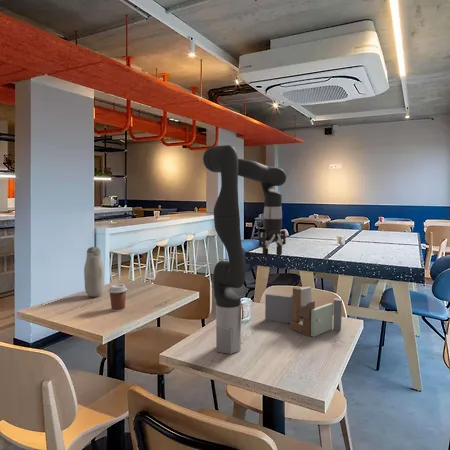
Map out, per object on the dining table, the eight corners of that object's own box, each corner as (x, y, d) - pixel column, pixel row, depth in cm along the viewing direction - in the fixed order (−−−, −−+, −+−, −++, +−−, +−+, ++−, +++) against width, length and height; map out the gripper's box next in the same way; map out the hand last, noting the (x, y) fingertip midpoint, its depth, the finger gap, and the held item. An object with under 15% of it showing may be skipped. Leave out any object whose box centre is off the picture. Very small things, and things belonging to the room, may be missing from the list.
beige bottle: (81, 298, 213) (79, 247, 210) (93, 293, 223) (91, 245, 220) (97, 299, 210) (95, 248, 208) (107, 294, 220) (106, 246, 217)
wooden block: (308, 336, 158) (309, 293, 156) (289, 328, 166) (290, 287, 165) (314, 334, 160) (315, 292, 158) (295, 326, 169) (296, 286, 167)
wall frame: (340, 330, 164) (341, 300, 163) (264, 320, 177) (265, 292, 176) (341, 328, 167) (342, 298, 166) (266, 318, 180) (267, 291, 178)
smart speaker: (298, 310, 191) (299, 282, 190) (316, 314, 185) (316, 285, 184) (289, 315, 184) (289, 286, 183) (306, 319, 178) (307, 289, 177)
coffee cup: (130, 306, 197) (129, 283, 196) (123, 312, 188) (123, 288, 187) (113, 306, 198) (112, 283, 197) (105, 311, 189) (105, 287, 188)
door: (335, 329, 165) (336, 304, 164) (317, 337, 156) (317, 311, 155) (329, 327, 167) (329, 302, 166) (310, 335, 158) (311, 309, 157)
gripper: (268, 218, 152) (267, 259, 153) (290, 217, 161) (290, 255, 163) (254, 217, 157) (254, 257, 159) (277, 216, 167) (276, 253, 168)
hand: (272, 256), depth 161 cm, fingers open, 8 cm apart
